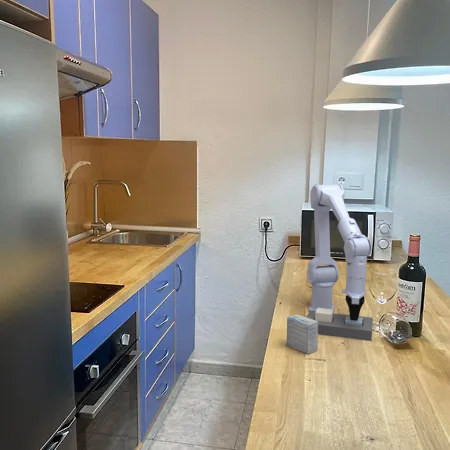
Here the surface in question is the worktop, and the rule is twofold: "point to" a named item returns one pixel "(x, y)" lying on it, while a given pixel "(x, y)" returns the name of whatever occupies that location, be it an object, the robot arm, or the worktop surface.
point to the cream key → (324, 315)
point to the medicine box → (302, 333)
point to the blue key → (353, 321)
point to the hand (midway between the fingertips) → (353, 319)
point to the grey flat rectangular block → (344, 327)
